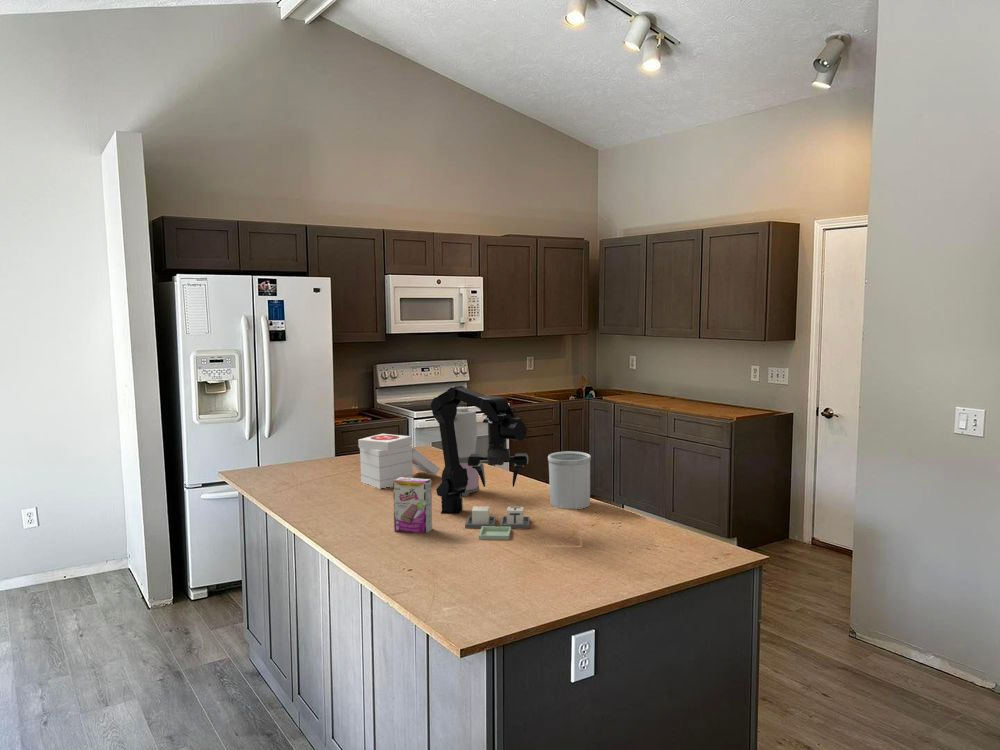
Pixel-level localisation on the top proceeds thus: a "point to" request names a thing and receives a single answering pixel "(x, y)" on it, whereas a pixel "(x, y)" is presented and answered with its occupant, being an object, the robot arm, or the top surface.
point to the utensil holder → (569, 479)
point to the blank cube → (480, 515)
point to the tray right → (515, 526)
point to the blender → (467, 444)
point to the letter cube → (515, 515)
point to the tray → (494, 533)
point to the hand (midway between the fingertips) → (498, 486)
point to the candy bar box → (412, 505)
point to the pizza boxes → (390, 459)
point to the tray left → (469, 524)
